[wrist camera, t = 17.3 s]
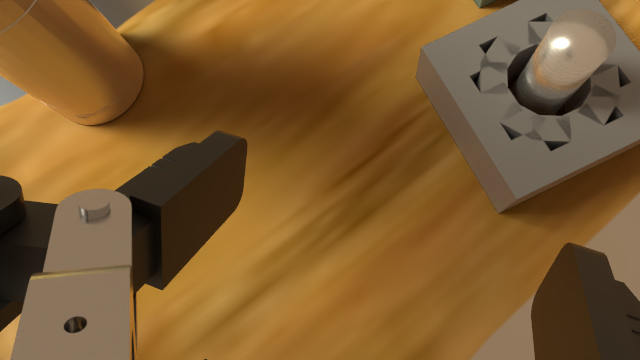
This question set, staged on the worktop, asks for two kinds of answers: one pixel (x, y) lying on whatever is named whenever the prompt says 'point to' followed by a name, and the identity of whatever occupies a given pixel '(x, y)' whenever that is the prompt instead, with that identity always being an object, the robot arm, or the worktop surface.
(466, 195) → the worktop surface
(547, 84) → the steel peg
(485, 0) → the square peg
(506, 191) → the socket block
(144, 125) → the worktop surface
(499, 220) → the worktop surface
